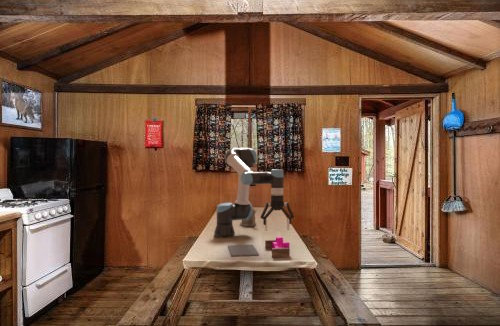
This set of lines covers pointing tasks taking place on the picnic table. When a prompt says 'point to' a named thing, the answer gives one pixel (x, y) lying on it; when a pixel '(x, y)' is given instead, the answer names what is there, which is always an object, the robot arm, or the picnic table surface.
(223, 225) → the robot arm
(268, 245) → the block
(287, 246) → the toy block
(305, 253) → the picnic table surface
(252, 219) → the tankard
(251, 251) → the slate mat
